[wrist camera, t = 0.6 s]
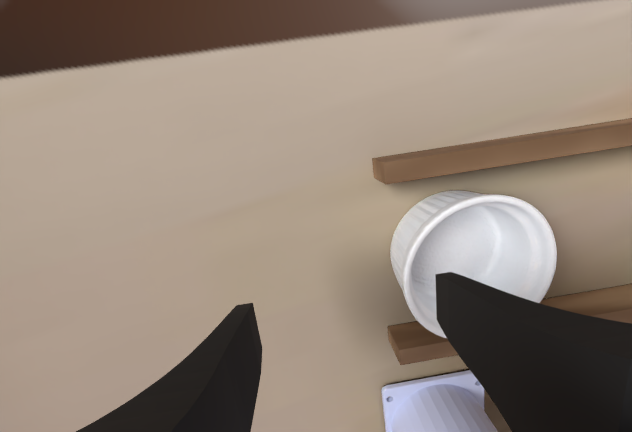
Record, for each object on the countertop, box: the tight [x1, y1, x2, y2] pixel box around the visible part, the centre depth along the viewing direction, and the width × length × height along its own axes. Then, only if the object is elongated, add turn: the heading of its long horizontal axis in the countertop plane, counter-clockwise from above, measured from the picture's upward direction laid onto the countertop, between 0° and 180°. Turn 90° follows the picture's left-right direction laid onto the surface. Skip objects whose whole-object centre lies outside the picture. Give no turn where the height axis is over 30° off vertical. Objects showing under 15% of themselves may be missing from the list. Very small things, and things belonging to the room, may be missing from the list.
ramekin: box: [390, 190, 557, 338], centre depth 19 cm, size 9×9×4 cm
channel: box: [372, 118, 632, 365], centre depth 20 cm, size 13×20×2 cm
